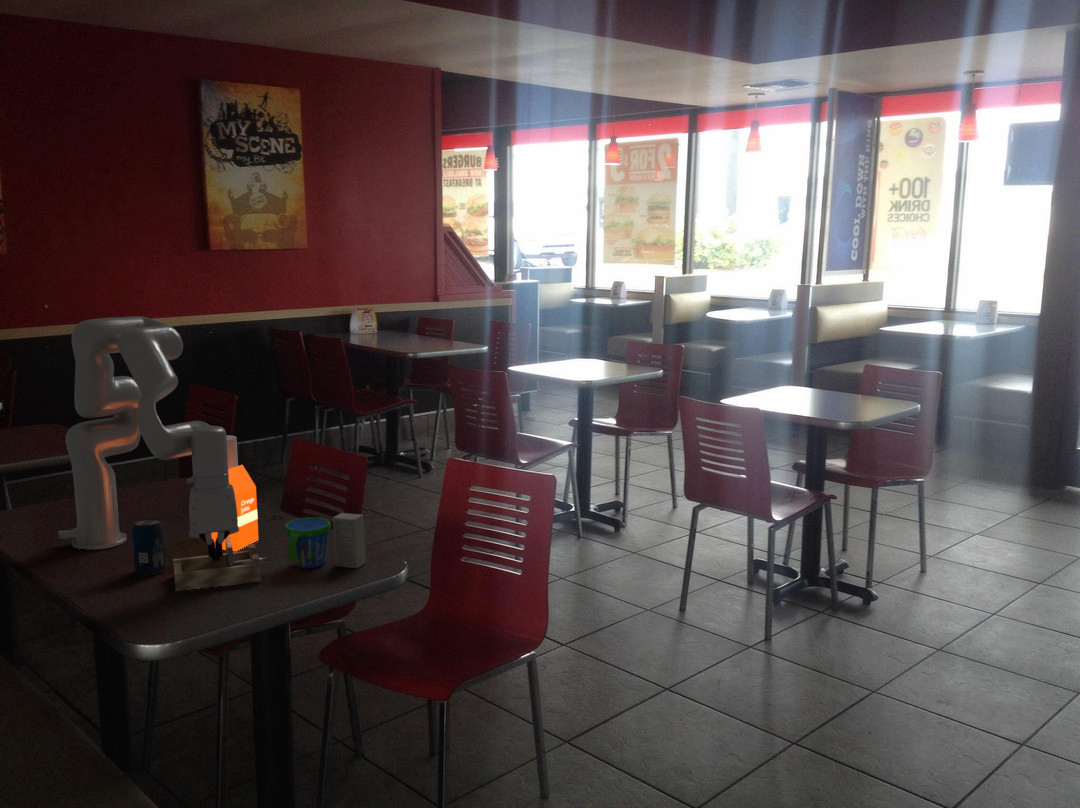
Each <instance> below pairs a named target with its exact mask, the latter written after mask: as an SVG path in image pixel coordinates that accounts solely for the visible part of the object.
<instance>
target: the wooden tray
mask: <svg viewBox="0 0 1080 808" xmlns="http://www.w3.org/2000/svg"><path fill="white" fill-rule="evenodd" d="M260 558H261V557H260V556H259V553H257V547H256V543H254V544H248V546H247V550H243V551H242V550H239V551H233V561H241V560H249V559H252V564H248V565H240V566H232V567H227V563H226V552H224V553H223V556H220V561H217V560H216V561H212V557H209V554H208V555H200V556H199V555H198V556H190V557H181V558H173V559H172V561H173V570H174V571H173V573H174V575H175V576H174V586H175V588H176V589H175V592H176V591H180V590H190V591H192V590H191V589H198V590H201V589H200V588H205V589H211V588H210V587H213V588H218V587H219V586H221V587H229V586H234V585H243V583H244V584H250V583H251V582H252V583H259V582H261V581H262V577H261V575H262V574H261V563H260ZM219 588H220V587H219Z"/></svg>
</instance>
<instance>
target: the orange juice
mask: <svg viewBox="0 0 1080 808" xmlns="http://www.w3.org/2000/svg"><path fill="white" fill-rule="evenodd" d="M228 472H229V484H231V485H232V486H233V489H234V493H235V498H236V506H237V516H238V527H239V532H237V533H234V534H230V535H229V536H228V537H230V540H231V544H232V547H233V552H239V551H241V550H243V549H245V548H247V547H248V544H252V543H254V542H256V541H258V540H259V524H258V523H259V521H258V519H259V517H258V506H257V505H258V503H257V501H258V500H257V486H256V484H255V483H254V481H253V480H252V478H251V476H250V474H249V473H248V471H247V469H246V468H245V467H244V465H243V464H241V465H239V464H238V466H236V467H234V468H231V469H228ZM217 534H218V532H213V533H211V537H212V539H213V540H214V543H215V541H216V538H217ZM258 542H259V541H258ZM256 543H257V542H256ZM254 544H255V543H254ZM246 546H247V547H246ZM244 547H245V548H244ZM242 548H243V549H242ZM240 549H241V550H240ZM223 550H224V551H226V545H225V540H224V541H223V543H222V551H223ZM238 550H239V551H238Z"/></svg>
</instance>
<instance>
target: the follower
mask: <svg viewBox="0 0 1080 808" xmlns="http://www.w3.org/2000/svg"><path fill="white" fill-rule="evenodd" d="M225 545H226V550H225V553H226V563H227V567H232V566H240V565H248V564H252V559H249V560H241V561H233V552H234V551H233V547H232V544H231V540H230V537H227V538H226V539H225ZM259 558H260V564H266V563H269V557H267V556H266V557H259Z"/></svg>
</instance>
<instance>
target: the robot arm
mask: <svg viewBox="0 0 1080 808" xmlns="http://www.w3.org/2000/svg"><path fill="white" fill-rule="evenodd" d="M71 347H72V351H73V357H74V361H75V374H74V377H75V378H74V399H73V400H74V409H75V410H76V413H77V414H78V415H79V416H80V417H82V418H87V419H93V420H86V421H82V422H79V423H76V424H74V425H72V426H71V427H70V428H69V429H68V430H67V432H66V434H65V445H66V449H67V453H68V455H69V459H70V463H71V471H72V479H73V486H74V499H75V511H76V513H75V514H76V522H77V525H76V527H75V528H72V529H69V530H65V529H64V530H58V531H57V532H58V539H63V541H66V540H72V539H73V540H72V542H71V545H73V546H72V548H74V547H75V548H74V549H76V548H78V549H77V550H80V549H86V550H85V551H97V550H98V549H99V550H105V549H110V548H114V547H117V546H120V545H122V544H124V543H126V542H127V540H128V539H127V534H126V533H124V532H121V531H120V521H119V519H120V517H119V509H118V508H119V506H118V495H117V482H116V475H115V474H116V473H115V471H114V469H113V467H112V466H111V465H110V464H109V463H108V461H107V460H106V459H105V458H107V457H110V456H115V455H116V456H117V455H120V454H125V453H128V452H129V453H130V452H131V451H133V450H135V449H136V448H137V447H138V446H139V443H140V440H141V437H142V439H143V441H144V443H145V444H146V446H147V449H149V451H150V453H151V454H152V455H153V456H154V457H156V458H157V459H159V460H162V461H167V460H168V461H169V460H174V459H178V458H181V457H183V458H184V457H187V456H191V463H192V464H191V465H192V475H191V477H187V478H186V485H192V487H191V488H190V493H189V504H188V506H189V507H188V513H189V514H188V516H189V533H188V535H189V537H190V538H196V539H201V540H202V541H203V542H204V543H206V544H207V549H208V551H207V552H208V555H209V557H212V561H216V560H217V561H220V556H223V549H222V543H223V541H224V540H225V539H226V538H227V537H228V536H229V535H230V534H234V533H237V532H239V527H238V516H237V506H236V498H235V493H234V489H233V486H232V485H231V484H229V472H228V453H227V436H226V435H227V432H226V429H225V428H224V427H222V426H220V425H210V424H208V423H207V422H205V421H202V420H192V421H187V422H180V423H174V424H170V425H169V424H168V425H163V423H162V421H161V419H160V417H159V415H158V413H157V409H156V406H157V405H156V404H157V403H158V402H159V401H160V400H162V399H164V398H165V397H167V396H168V395H169V394H171V393H172V392H173V391H174V390H175V389H176V388H177V386H178V385H179V384H178V383H179V379H178V376H177V374H176V373H175V371H174V369H173V367H172V366H171V364H170V361H174V360H176V359H178V358H179V357H180V356H181V355H182V353H183V349H184V343H183V340H182V337H181V335H180V333H179V331H177V330H176V329H175V328H174V327H173V326H171V325H169V324H168V323H164V322H161V321H160V320H156V319H153V318H150V317H147V316H142V315H141V316H139V315H137V316H122V317H121V316H120V317H119V316H118V317H102V318H93V319H87V320H82V321H80V322H79V323H76V324H75V327H74V328H73V330H72V333H71ZM117 353H119V354H120V355H121V358H122V359H123V361H124V363H125V365H126V366H127V369H128V370H129V372H130V374H131V376H132V377H131V376H127V375H119V376H114V373H115V372H114V371H115V365H114V361H113V359H112V357H111V355H110V354H117ZM108 416H110V417H108ZM111 416H112V417H111ZM102 417H106V418H102ZM107 417H108V418H107ZM95 418H98V419H95ZM99 418H100V419H99ZM213 532H218V534H217V538H216V541H215V543H214V540H213V539H212V535H211V533H213ZM91 549H92V550H91ZM99 550H98V551H99Z"/></svg>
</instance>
